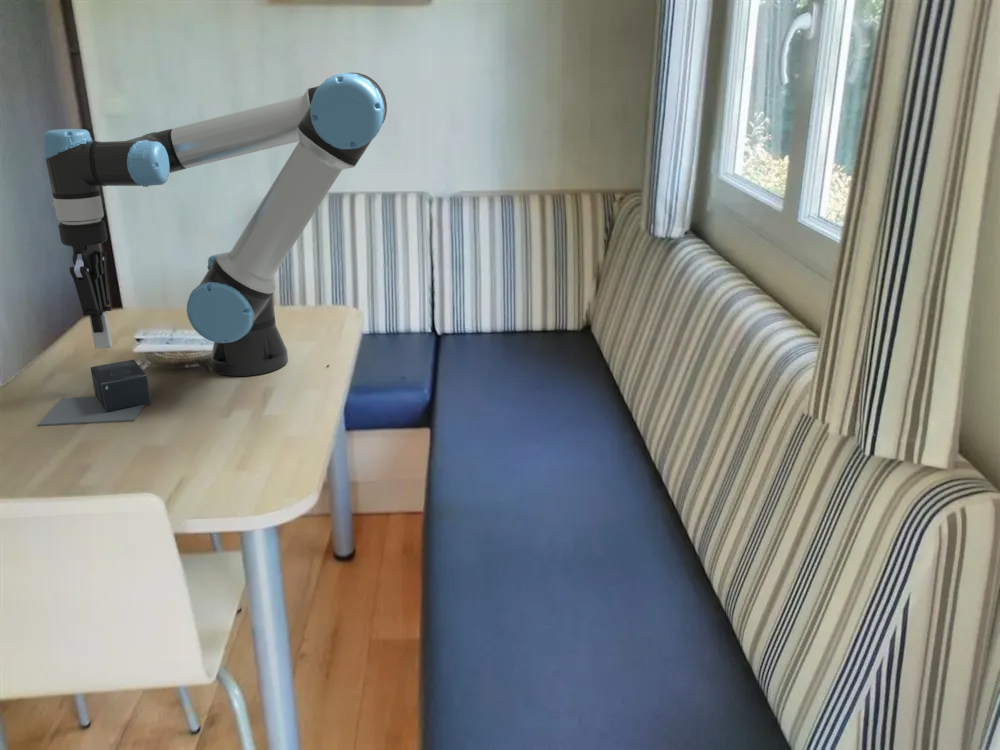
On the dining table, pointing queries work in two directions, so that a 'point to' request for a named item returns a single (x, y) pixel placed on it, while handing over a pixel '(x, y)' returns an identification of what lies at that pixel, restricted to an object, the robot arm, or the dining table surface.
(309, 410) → the dining table surface
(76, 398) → the mat
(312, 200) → the robot arm
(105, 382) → the box
